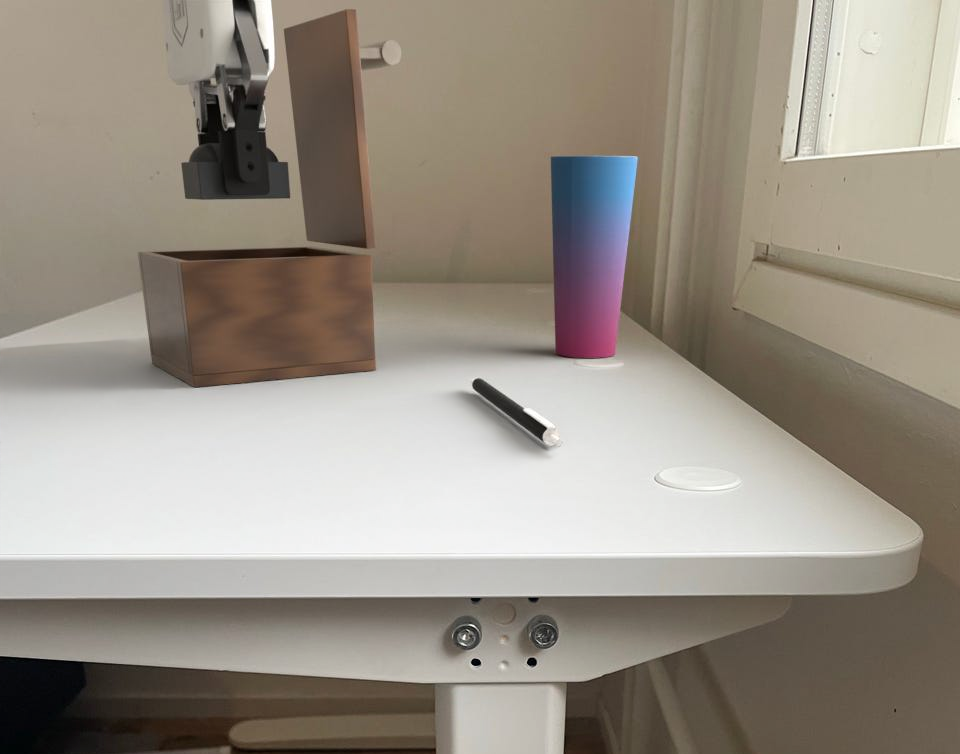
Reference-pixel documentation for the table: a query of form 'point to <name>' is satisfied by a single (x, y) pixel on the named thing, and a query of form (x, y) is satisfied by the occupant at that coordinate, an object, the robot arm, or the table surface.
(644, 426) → the table surface
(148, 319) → the chest
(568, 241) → the cup
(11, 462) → the table surface
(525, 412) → the pen
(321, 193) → the lid
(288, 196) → the domed black block
